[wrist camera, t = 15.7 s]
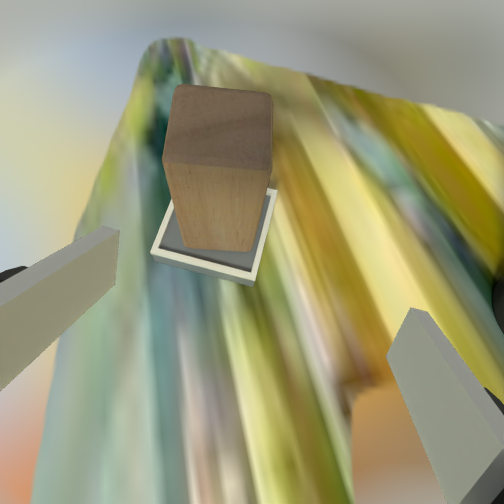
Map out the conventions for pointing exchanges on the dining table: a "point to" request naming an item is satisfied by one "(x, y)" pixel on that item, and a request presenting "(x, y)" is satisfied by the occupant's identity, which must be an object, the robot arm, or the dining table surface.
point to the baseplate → (212, 261)
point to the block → (218, 164)
